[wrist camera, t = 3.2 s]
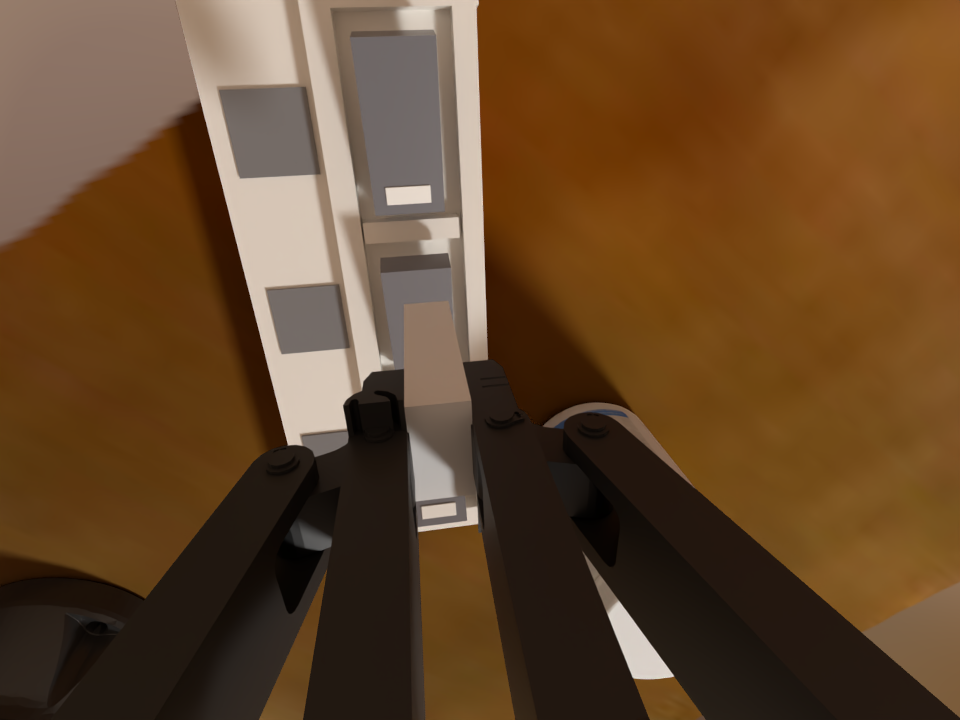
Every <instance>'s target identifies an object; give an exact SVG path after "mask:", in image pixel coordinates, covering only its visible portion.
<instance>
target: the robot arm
mask: <svg viewBox="0 0 960 720" xmlns="http://www.w3.org/2000/svg"><path fill="white" fill-rule="evenodd" d="M343 409H344V414H345V420H346V425H347V431H348V436H349V438H348V443H347V444H346V445H344V446H342V447H341V448H339V449H337V450H334V451H332V452H329V453H326V454H323V455H320V456H317V457H315V456H314V453H313V451H312V450H310V449H309V448H307V447H306V446H300V445H287V446H281V447H277V448H274V449H272V450H270V451H268V452H266V453H264V454H262V455H261V456H260V457H258V458H257V459H256V460H255V461H254V462H253V463H252V464H251V466H250V467H249V468H248V469H247V471H246V472H245V473H244V475H243V476H242V477H241V478H240V480H239V481H238V482H237V483H236V485H235V486H234V487H233V488H232V490H231V491H230V492H229V494H228V495H227V496H226V497H225V499H224V500H223V501H222V502H221V504H220V505H219V506H218V508H217V509H216V510H215V511H214V513H213V514H212V515H211V516H210V518H209V519H208V520H207V521H206V523H205V524H204V525H203V527H202V528H201V529H200V530H199V532H198V533H197V534H196V535H195V537H194V538H193V539H192V540H191V542H190V543H189V544H188V546H187V547H186V548H185V549H184V551H183V552H182V553H181V554H180V556H179V557H178V558H177V559H176V561H175V562H174V563H173V565H172V566H171V567H170V568H169V570H168V571H167V572H166V573H165V575H164V576H163V577H162V578H161V580H160V581H159V582H158V584H157V585H156V586H155V587H154V589H153V590H152V591H151V592H150V594H149V595H148V596H147V598H146V599H145V600H144V601H143V600H142V599H140V598H138V597H136V596H134V595H132V594H130V593H128V592H125V591H123V590H120V589H117V588H114V587H111V586H108V585H104V584H101V583H96V582H91V581H86V580H78V579H68V578H42V579H31V580H25V581H20V582H15V583H11V584H8V585H4V586H1V587H0V720H259V718H260V716H261V714H262V711H263V709H264V707H265V705H266V702H267V700H268V698H269V696H270V694H271V691H272V689H273V687H274V685H275V683H276V680H277V678H278V676H279V674H280V671H281V669H282V667H283V665H284V663H285V660H286V658H287V656H288V654H289V652H290V649H291V647H292V645H293V643H294V640H295V638H296V636H297V634H298V632H299V629H300V627H301V625H302V623H303V621H304V618H305V616H306V614H307V612H308V609H309V607H310V605H311V603H312V601H313V598H314V596H315V594H316V592H317V590H318V587H319V585H320V583H321V581H322V578H323V576H324V574H325V572H326V570H327V574H326V581H325V587H324V593H323V599H322V606H321V612H320V618H319V624H318V631H317V637H316V643H315V649H314V655H313V662H312V668H311V674H310V680H309V687H308V693H307V699H306V705H305V711H304V718H303V720H425V699H424V673H423V647H422V621H421V595H420V569H419V543H418V517H417V509H416V501H424V500H432V499H440V498H449V497H457V496H465V495H474V494H476V491H477V508H478V529H479V533H480V532H482V537H483V542H484V548H485V553H486V559H487V564H488V570H489V575H490V581H491V587H492V592H493V598H494V603H495V609H496V614H497V620H498V625H499V631H500V636H501V642H502V648H503V653H504V659H505V664H506V670H507V675H508V681H509V686H510V692H511V698H512V703H513V709H514V714H515V720H650V719H649V717H648V714H647V712H646V709H645V707H644V704H643V702H642V699H641V697H640V694H639V692H638V689H637V687H636V684H635V682H634V679H633V677H632V674H631V672H630V669H629V667H628V664H627V662H626V659H625V657H624V654H623V652H622V649H621V647H620V644H619V642H618V639H617V637H616V634H615V632H614V629H613V627H612V624H611V622H610V619H609V617H608V614H607V612H606V609H605V607H604V604H603V602H602V599H601V597H600V594H599V592H598V589H597V587H596V584H595V582H594V579H593V577H592V574H591V572H590V569H589V567H588V564H587V562H586V559H585V556H584V554H585V555H586V557H587V558H588V559H589V561H590V562H591V563H592V565H593V566H594V567H595V569H596V570H597V572H598V573H599V574H600V576H601V577H602V578H603V580H604V581H605V582H606V584H607V585H608V587H609V588H610V589H611V591H612V592H613V593H614V595H615V596H616V597H617V599H618V600H619V602H620V603H621V604H622V606H623V607H624V608H625V610H626V611H627V612H628V614H629V615H630V617H631V618H632V619H633V621H634V622H635V623H636V625H637V626H638V628H639V629H640V630H641V632H642V633H643V634H644V636H645V637H646V638H647V640H648V641H649V643H650V644H651V645H652V647H653V648H654V649H655V651H656V652H657V653H658V655H659V656H660V658H661V659H662V660H663V662H664V663H665V664H666V666H667V667H668V668H669V670H670V671H671V673H672V674H673V675H674V677H675V678H676V679H677V681H678V682H679V683H680V685H681V686H682V688H683V689H684V690H685V692H686V693H687V694H688V696H689V697H690V698H691V700H692V701H693V703H694V704H695V705H696V707H697V708H698V709H699V711H700V712H701V713H702V715H703V716H704V717H705V719H706V720H960V718H959V717H958V716H957V715H956V714H955V713H953V712H952V711H951V710H950V709H949V708H948V707H947V706H945V705H944V704H943V703H942V702H941V701H940V700H939V699H937V698H936V697H935V696H934V695H933V694H931V693H930V692H929V691H928V690H927V689H926V688H925V687H924V686H922V685H921V684H920V683H919V682H918V681H917V680H915V679H914V678H913V677H912V676H911V675H910V674H909V673H907V672H906V671H905V670H904V669H903V668H901V666H899V665H898V664H897V663H896V662H894V660H892V659H891V658H890V657H889V656H888V655H887V654H886V653H884V652H883V651H882V650H881V649H880V648H879V647H877V646H876V645H875V644H874V643H873V642H872V641H870V640H869V639H868V638H867V637H866V636H865V635H864V634H862V633H861V632H860V631H859V630H858V629H857V628H856V627H854V626H853V625H852V624H851V623H850V622H849V621H847V620H846V619H845V618H844V617H843V616H842V615H841V614H839V613H838V612H837V611H836V610H835V609H834V608H832V607H831V606H830V605H829V604H828V603H827V602H826V601H824V600H823V599H822V598H821V597H820V596H819V595H817V594H816V593H815V592H814V591H813V590H812V589H811V588H809V587H808V586H807V585H806V584H805V583H804V582H802V581H801V580H800V579H799V578H798V577H797V576H796V575H794V574H793V573H792V572H791V571H790V570H789V569H787V568H786V567H785V566H784V565H783V564H782V563H781V562H779V561H778V560H777V559H776V558H775V557H774V556H772V555H771V554H770V553H769V552H768V551H767V550H766V549H764V548H763V547H762V546H761V545H760V544H759V543H757V542H756V541H755V540H754V539H753V538H752V537H751V536H749V535H748V534H747V533H746V532H745V531H744V530H742V529H741V528H740V527H739V526H738V525H737V524H736V523H734V522H733V521H732V520H731V519H730V518H729V517H727V516H726V515H725V514H724V513H723V512H722V511H721V510H719V509H718V508H717V507H716V506H715V505H714V504H713V503H711V502H710V501H709V500H708V499H707V498H706V497H704V496H703V495H702V494H701V493H700V492H699V491H698V490H696V489H695V488H694V487H693V486H692V485H691V484H689V483H688V482H687V481H686V480H685V479H684V478H683V477H681V476H680V475H679V474H678V473H677V472H676V471H674V470H673V469H672V468H671V467H670V466H669V465H668V464H666V463H665V462H664V461H663V460H662V459H661V458H659V457H658V456H657V455H656V454H655V453H654V452H653V451H651V450H650V449H649V448H648V447H647V446H646V445H644V444H643V443H642V442H641V441H640V440H639V439H638V438H636V437H635V436H634V435H633V434H632V433H631V432H629V431H628V430H627V429H626V428H625V427H624V426H623V425H621V424H620V423H619V422H618V421H616V420H615V419H613V418H612V417H610V416H607V415H604V414H601V413H595V412H594V413H593V412H585V413H577V414H575V415H573V416H570V417H569V418H568V419H567V420H566V421H565V422H564V429H560V428H550V427H543V426H539V425H536V424H533V423H531V421H530V419H529V417H528V415H527V414H526V413H525V412H524V411H522V410H520V409H519V408H518V406H517V404H516V401H515V398H514V396H513V393H512V391H511V388H510V385H509V383H508V380H507V378H506V375H505V372H504V369H503V367H502V366H501V365H499V364H498V363H497V362H495V361H494V360H482V361H471V362H462V358H461V354H460V349H459V345H458V341H457V336H456V332H455V328H454V323H453V319H452V315H451V310H450V306H449V302H448V301H440V302H427V303H414V304H404V369H398V370H387V371H376V372H371V373H370V375H369V376H368V377H367V378H366V379H365V380H364V381H363V387H362V391H360V392H358V393H355V394H353V395H352V396H351V397H349V398H348V399H347V400H346V401H345V403H344V405H343ZM583 552H584V554H583ZM327 567H328V568H327Z"/></svg>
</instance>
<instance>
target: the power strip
mask: <svg viewBox="0 0 960 720" xmlns="http://www.w3.org/2000/svg"><path fill="white" fill-rule="evenodd" d="M175 2H176V6H177V10H178V14H179V18H180V22H181V26H182V30H183V33H184V38H185V42H186V46H187V50H188V54H189V57H190V61H191V65H192V69H193V73H194V77H195V81H196V85H197V89H198V93H199V97H200V101H201V105H202V109H203V113H204V117H205V120H206V124H207V128H208V132H209V136H210V140H211V144H212V148H213V152H214V156H215V160H216V164H217V168H218V172H219V175H220V179H221V183H222V187H223V191H224V195H225V199H226V203H227V207H228V211H229V215H230V219H231V223H232V227H233V231H234V234H235V238H236V242H237V246H238V250H239V254H240V258H241V262H242V266H243V270H244V274H245V278H246V282H247V286H248V290H249V293H250V297H251V301H252V305H253V309H254V313H255V317H256V321H257V325H258V329H259V333H260V337H261V341H262V345H263V349H264V352H265V356H266V360H267V364H268V368H269V372H270V376H271V380H272V384H273V388H274V392H275V396H276V400H277V404H278V407H279V411H280V415H281V419H282V423H283V427H284V431H285V435H286V439H287V443H288V445H300V446H306V447H307V448H309V449H310V450H312V451H313V453H314V456H315V457H317V456H320V455H323V454H326V453H329V452H332V451H334V450H337V449H339V448H341V447H342V446H344V445H346V444H347V443H348V438H349V436H348V431H347V425H346V420H345V414H344V409H343V405H344V403H345V401H346V400H347V399H348V398H349V397H351V396H352V395H353V394H355V393H358V392H360V391H362V387H363V381H364V380H365V379H366V378H367V377H368V376H369V375H370V373H371V372H376V371H387V370H395V368H394V361H393V355H392V348H391V341H390V335H389V328H388V321H387V314H386V308H385V301H384V294H383V288H382V281H381V274H380V258H385V257H399V256H412V255H426V254H440V253H448V255H449V260H450V265H451V277H452V300H453V323H454V328H455V332H456V336H457V341H458V345H459V349H460V354H461V358H462V362H471V361H482V360H488V349H487V319H486V288H485V258H484V227H483V197H482V166H481V136H480V105H479V75H478V44H477V14H476V8H477V6H478V5H479V1H478V0H175ZM391 30H434V32H435V34H436V40H437V61H438V81H439V101H440V122H441V142H442V163H443V183H444V203H445V212H431V213H415V214H399V215H383V216H376V215H375V208H374V201H373V194H372V188H371V181H370V174H369V167H368V160H367V153H366V146H365V139H364V132H363V125H362V118H361V111H360V104H359V97H358V90H357V83H356V76H355V69H354V62H353V55H352V49H351V42H350V35H351V32H352V31H391ZM465 500H466V512H467V521H461V522H454V523H446V524H439V525H431V526H423V527H418V532H420V531H428V530H435V529H443V528H450V527H458V526H465V525H473V524H478V508H477V491H476V494H474V495H465Z"/></svg>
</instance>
